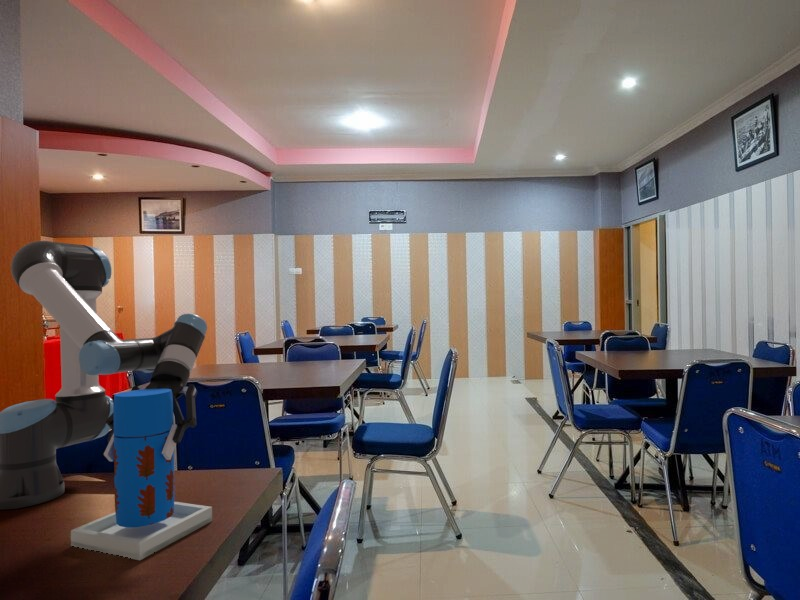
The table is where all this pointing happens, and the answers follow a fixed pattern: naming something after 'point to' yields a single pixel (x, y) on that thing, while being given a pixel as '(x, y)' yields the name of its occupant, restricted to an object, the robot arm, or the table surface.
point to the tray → (140, 532)
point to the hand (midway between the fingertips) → (137, 457)
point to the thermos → (143, 457)
